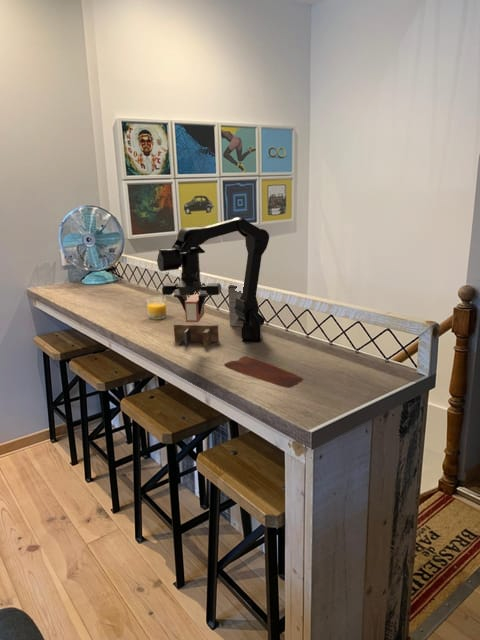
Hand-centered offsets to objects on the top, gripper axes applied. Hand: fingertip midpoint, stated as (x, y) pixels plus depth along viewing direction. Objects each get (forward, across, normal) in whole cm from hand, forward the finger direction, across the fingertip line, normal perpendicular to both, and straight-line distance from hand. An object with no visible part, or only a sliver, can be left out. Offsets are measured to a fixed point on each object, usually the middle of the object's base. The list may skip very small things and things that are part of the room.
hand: (193, 314), depth 163 cm
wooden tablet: (+14, +25, -17) cm, 33 cm away
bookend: (+13, -6, +8) cm, 16 cm away
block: (+2, 0, +2) cm, 3 cm away
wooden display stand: (+13, -2, +8) cm, 16 cm away
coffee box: (+13, +10, +34) cm, 37 cm away
